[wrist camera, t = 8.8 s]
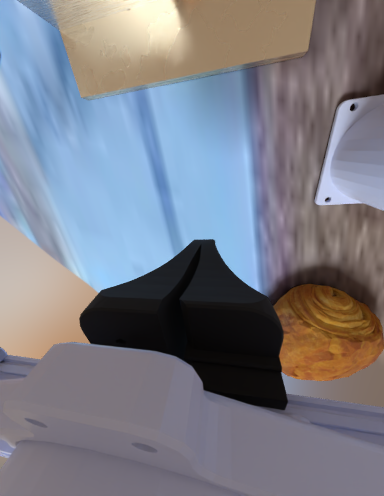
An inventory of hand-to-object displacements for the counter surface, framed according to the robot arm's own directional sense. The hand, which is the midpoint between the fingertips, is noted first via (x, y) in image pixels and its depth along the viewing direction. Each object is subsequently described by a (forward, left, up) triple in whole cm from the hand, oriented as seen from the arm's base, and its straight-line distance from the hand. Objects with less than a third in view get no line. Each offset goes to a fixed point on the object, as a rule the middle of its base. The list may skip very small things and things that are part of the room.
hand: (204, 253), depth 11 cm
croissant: (-13, +18, -10) cm, 24 cm away
